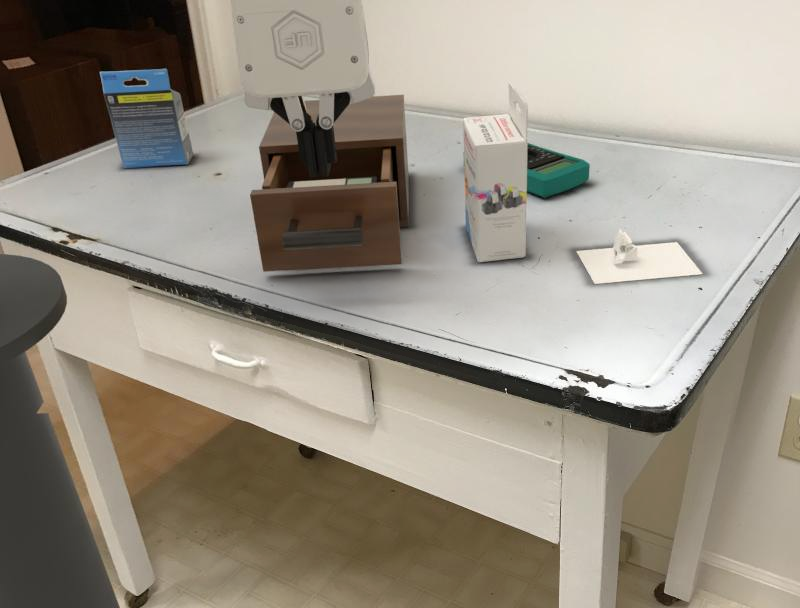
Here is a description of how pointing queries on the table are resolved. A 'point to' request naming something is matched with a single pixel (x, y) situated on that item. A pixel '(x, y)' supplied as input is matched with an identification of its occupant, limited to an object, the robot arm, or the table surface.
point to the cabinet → (354, 137)
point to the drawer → (329, 213)
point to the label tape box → (147, 119)
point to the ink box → (497, 181)
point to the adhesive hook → (636, 261)
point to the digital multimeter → (553, 171)
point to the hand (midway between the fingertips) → (320, 171)
